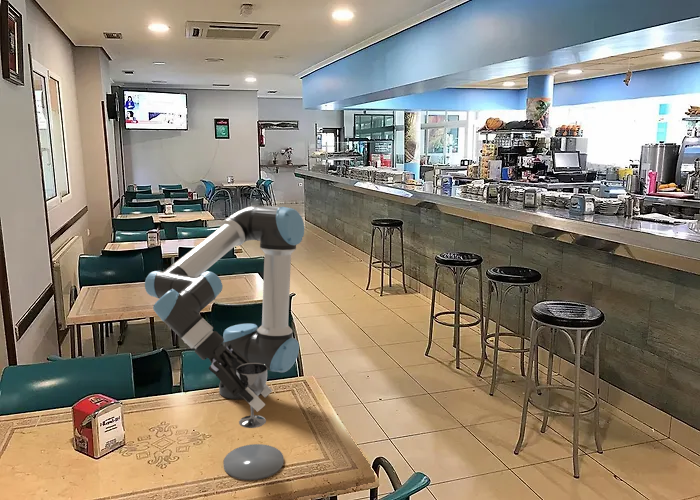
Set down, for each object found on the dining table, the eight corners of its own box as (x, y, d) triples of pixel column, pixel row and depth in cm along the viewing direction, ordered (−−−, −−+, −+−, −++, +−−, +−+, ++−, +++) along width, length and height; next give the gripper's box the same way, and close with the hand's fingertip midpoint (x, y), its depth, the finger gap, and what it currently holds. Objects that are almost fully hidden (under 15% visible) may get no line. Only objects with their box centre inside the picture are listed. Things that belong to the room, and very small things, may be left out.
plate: (239, 443, 166) (239, 440, 166) (292, 452, 162) (292, 449, 162) (212, 474, 151) (212, 470, 151) (269, 484, 147) (269, 481, 147)
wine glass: (261, 430, 150) (261, 375, 147) (232, 426, 151) (231, 372, 148) (271, 416, 157) (271, 364, 154) (244, 413, 159) (243, 361, 156)
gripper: (207, 335, 162) (264, 392, 164) (179, 363, 142) (245, 428, 143) (225, 318, 160) (282, 376, 162) (199, 344, 140) (266, 410, 142)
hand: (265, 400), depth 153 cm, fingers closed on wine glass, 8 cm apart
